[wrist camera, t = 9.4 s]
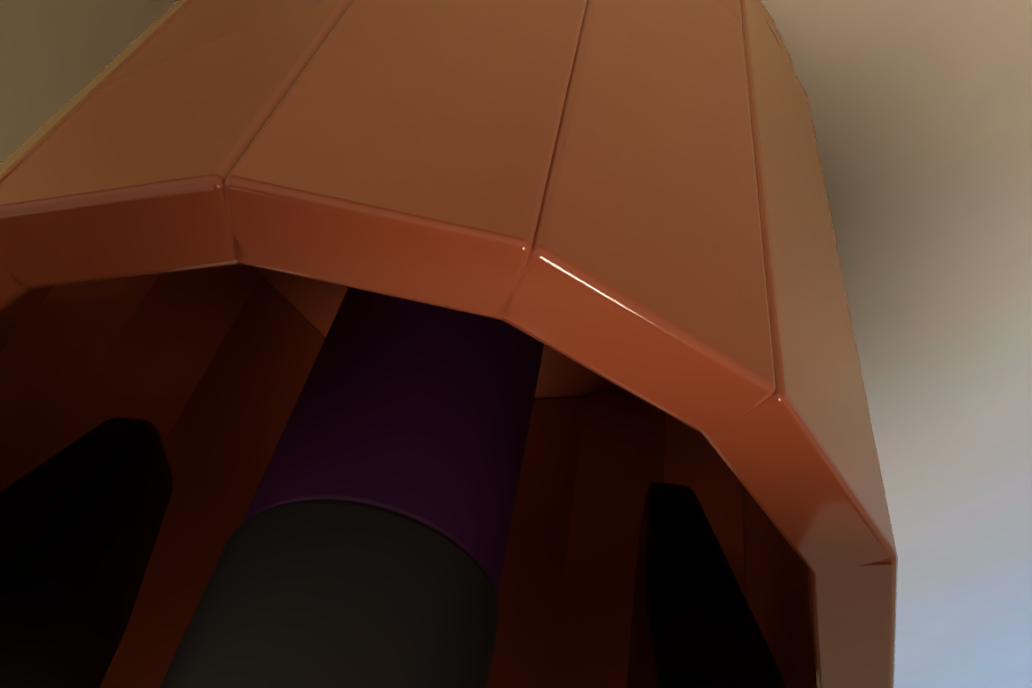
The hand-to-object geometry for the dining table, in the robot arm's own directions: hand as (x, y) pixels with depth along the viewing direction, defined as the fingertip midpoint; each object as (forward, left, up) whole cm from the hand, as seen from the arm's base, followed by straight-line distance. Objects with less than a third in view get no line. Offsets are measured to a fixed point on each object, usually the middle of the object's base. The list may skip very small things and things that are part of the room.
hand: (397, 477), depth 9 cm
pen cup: (0, 0, -6) cm, 6 cm away
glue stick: (0, 0, -5) cm, 5 cm away
